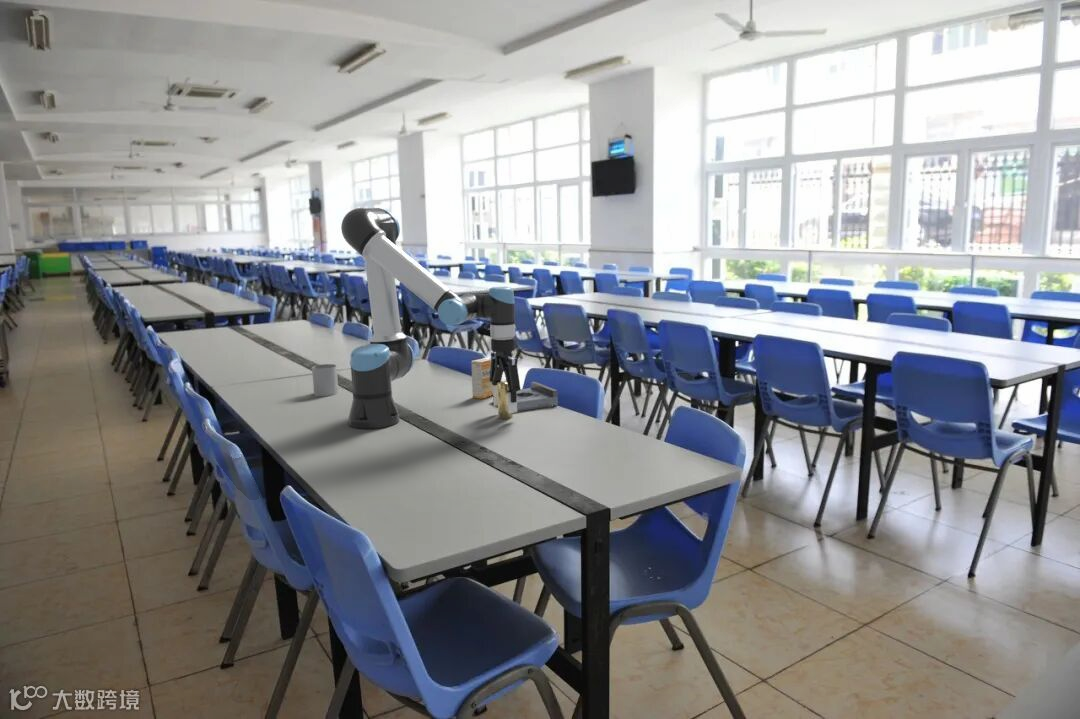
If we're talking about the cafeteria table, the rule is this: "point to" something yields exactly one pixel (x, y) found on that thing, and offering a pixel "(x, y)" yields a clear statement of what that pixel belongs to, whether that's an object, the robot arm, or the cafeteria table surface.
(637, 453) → the cafeteria table surface
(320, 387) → the cup
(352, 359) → the robot arm
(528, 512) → the cafeteria table surface
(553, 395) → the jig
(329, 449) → the cafeteria table surface
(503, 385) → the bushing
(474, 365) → the supplement box
